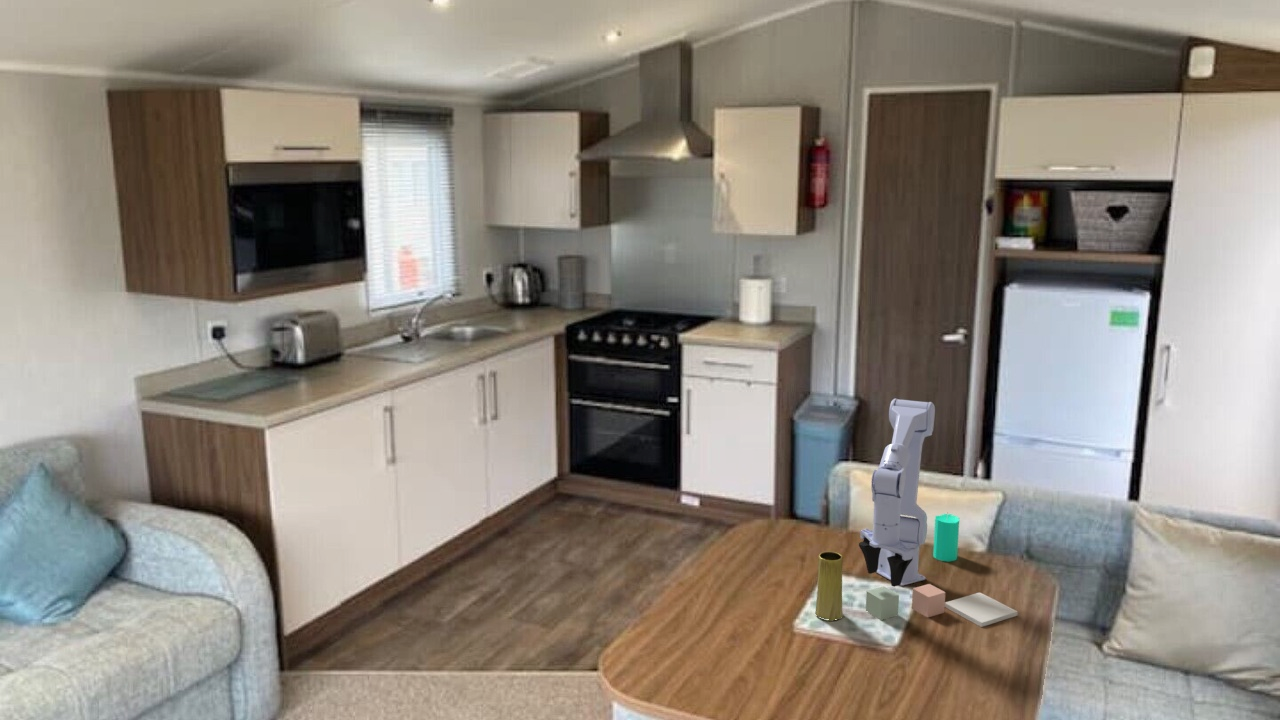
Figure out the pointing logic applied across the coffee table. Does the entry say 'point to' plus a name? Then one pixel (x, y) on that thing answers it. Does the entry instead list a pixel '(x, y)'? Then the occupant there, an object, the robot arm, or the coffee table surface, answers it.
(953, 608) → the base plate
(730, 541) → the coffee table surface
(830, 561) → the vase
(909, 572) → the robot arm
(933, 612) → the brick top
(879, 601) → the brick bottom
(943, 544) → the candle
